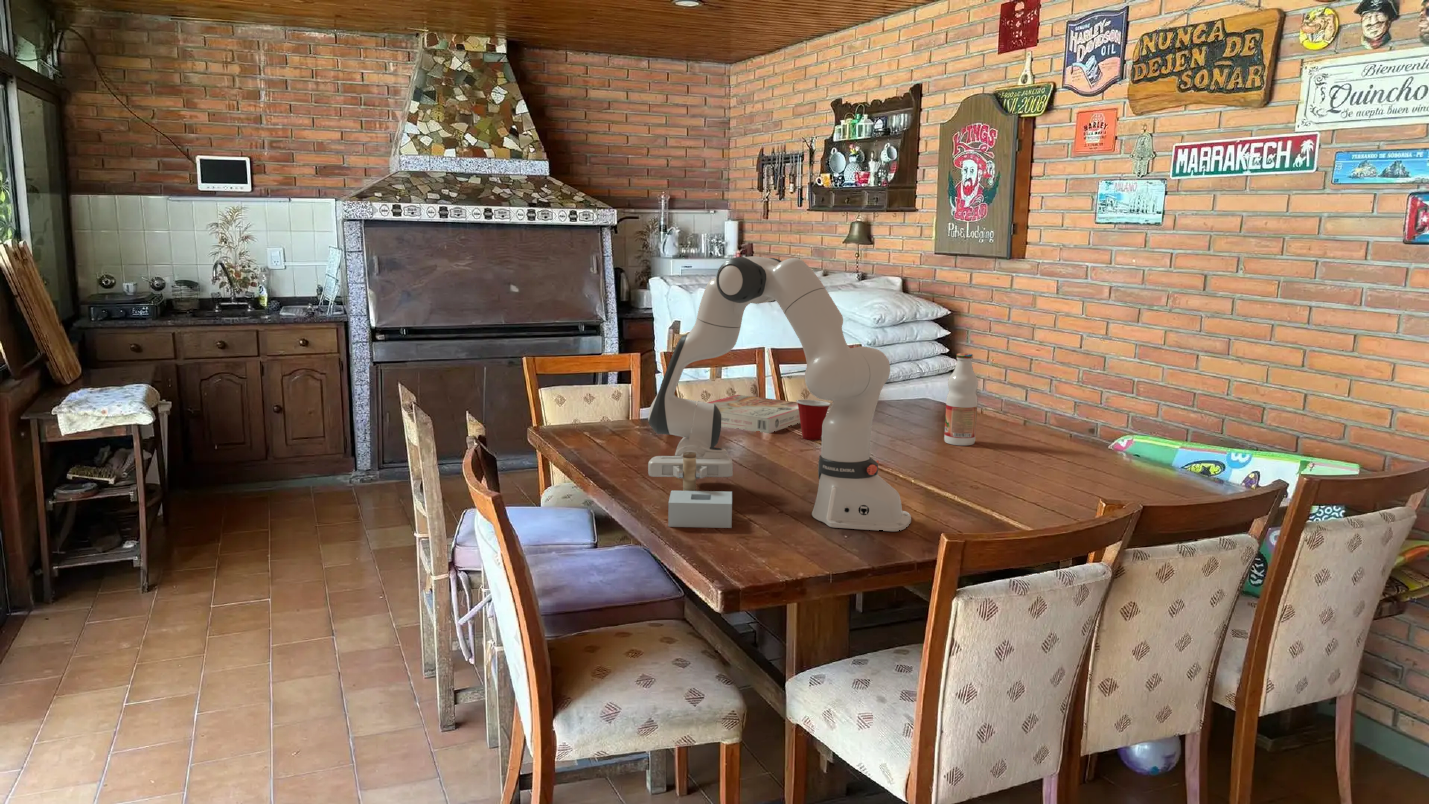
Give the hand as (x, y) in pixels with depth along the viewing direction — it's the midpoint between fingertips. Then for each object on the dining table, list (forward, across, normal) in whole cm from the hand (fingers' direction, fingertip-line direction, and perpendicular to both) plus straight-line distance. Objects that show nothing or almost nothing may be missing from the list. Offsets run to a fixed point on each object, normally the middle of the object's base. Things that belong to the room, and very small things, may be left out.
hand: (689, 475), depth 224 cm
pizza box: (-110, +17, +9) cm, 112 cm away
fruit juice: (-79, +81, +9) cm, 114 cm away
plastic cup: (-82, +36, +9) cm, 90 cm away
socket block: (+8, +3, +9) cm, 12 cm away
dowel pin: (-1, 0, +7) cm, 7 cm away
